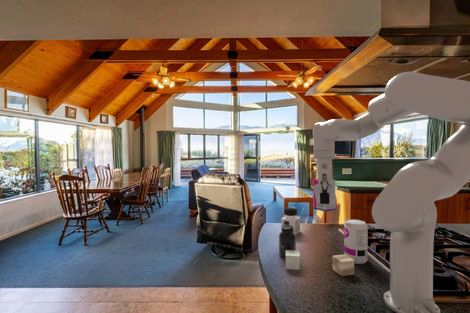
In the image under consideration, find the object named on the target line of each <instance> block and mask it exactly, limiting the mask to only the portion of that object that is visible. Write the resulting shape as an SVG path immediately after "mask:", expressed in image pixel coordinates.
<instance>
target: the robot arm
mask: <svg viewBox="0 0 470 313" xmlns="http://www.w3.org/2000/svg"><path fill="white" fill-rule="evenodd" d="M367 110H368V112H367V113H365V114H364V115H362V116H360V117H358V118H355V119H345V118H343V119H341V118H334V119H329V120H327V121H320V122H316V123H314V124H313V127H312V130H313V131H312V132H313V133H312V136H313V137H312V138H313V139H312V142H313V143H312V145H313V146H312V147H313V148H312V149H313V152H312V153H313V160H316V174H317V175H316V176H317V179H318V184H319V185H320V183H321V185H320V186H321V193H320V204H329V185H331V186H332V185H333V181H332V179H333V160H335V158H336V157H335V151H336V150H335V144H336V143H335V142H343V141H344V142H345V141H346V142H355V141H358V140H362V139H364V138H366V137H368V136H372V135H374V134H376V133H377V132H379V131H380V130H382V129H383V128H384V127H385V126H386V125H388V124H391V123H393V122H395V121H397V120H400V119H402V118H406V117H407V116H409V115H412V114H414V113H415V114H419V115H423V116H426V117H429V118H433V119H437V120H440V121H445V122H450V123H457V124H459V123H460V124H461V125H460V127H459V128H458V129H457V130H456V131H455V132H454V133H453V134H451V135H450V136H449V137H448V138H447V139H446V140H445V142H443V144H442V145H441V146H440V147H439V148H438V150H437V151H436V152H435V153H434V154H433V155H431V157H430V158H428V159H425V160H417V161H413V162H410V163H408V164H406V165H405V166H403V167H402V168H400V169H399V170H398V171H397V172H396V173H395V175H394V176H393V177H392V178H391V179H390V181H389V182H388V183H387V185H386V186H385V187H384V188H383V189H382V191H381V192H380V193H379V194H378V196H376V198H375V199H374V201H373V204H372V208H371V216H372V219H373V221H374V223H376V225H377V226H378V227H379V228H381V229H382V230H384V231H387V232H390V238H389V239H390V240H389V290H388V291H387V290H386V292H384V293H383V302H384V303H385V305H386V306H387V307H388V308H389V309H390V310H392V311H393V312H395V313H441V309H440V307H439V306H438V304H436V303H435V300H434V298H433V296H434V295H433V292H434V279H433V278H434V238H435V230H436V224H437V219H438V211H437V207H436V204H435V202H436V201H439V200H444V199H448V198H451V197H453V196H454V195H456V194H457V193H458V192H459V191H460V190H461V189H462V188H463V187H464V186H465V185H466V184H467V183H468V182H469V181H470V80H469V81H468V80H462V79H457V78H450V77H443V76H438V75H431V74H425V73H421V72H416V71H405V72H401V73H398V74H397V75H394V76H393V77H392V78H391V79H390V80H388V83H387V84H386V86H385V88H384V93H382V94H380V95H378V96H377V97H374V98H373V99H371V100H370V101H369V102H368V106H367ZM322 183H323V184H322ZM328 183H329V185H328Z"/></svg>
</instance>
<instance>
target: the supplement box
mask: <svg viewBox="0 0 470 313" xmlns="http://www.w3.org/2000/svg"><path fill="white" fill-rule="evenodd" d="M332 181H333V185H332V186H331V185H329V183H328V185H329V204H320V193H321V186H320V185H321V183H320V185H319V184H318V178H314V179H313V209H314V210H317V211H321V212H330V211H331V212H332V211H335V210H336V179H333V178H332ZM322 184H323V183H322Z"/></svg>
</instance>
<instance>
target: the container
mask: <svg viewBox="0 0 470 313" xmlns="http://www.w3.org/2000/svg"><path fill="white" fill-rule="evenodd" d="M283 210H284V212H283V214H284V216H283V217H281V219H280V222H281V223H280V224H281V226H280V228H281V229H282V226H283V225H291V226H293V230H294V232H293V233H294V234H295V235H296V236H297V234H299V233H300V232H301V217H300V216H298V208H296V207H293V206H287V207H285V208H284V209H283ZM281 232H282V231H281ZM281 232H280V233H281Z"/></svg>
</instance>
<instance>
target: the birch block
mask: <svg viewBox="0 0 470 313" xmlns="http://www.w3.org/2000/svg"><path fill="white" fill-rule="evenodd" d="M332 270H333V271H334V272H335V273H336V274H338V275H339V276H341V277H344V276H345V277H346V276H352V275H355V263H354V260H353V259H351V258H350V257H348V256H347V255H345V254H344V253H343V254H338V255H337V254H336V255H332Z"/></svg>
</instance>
